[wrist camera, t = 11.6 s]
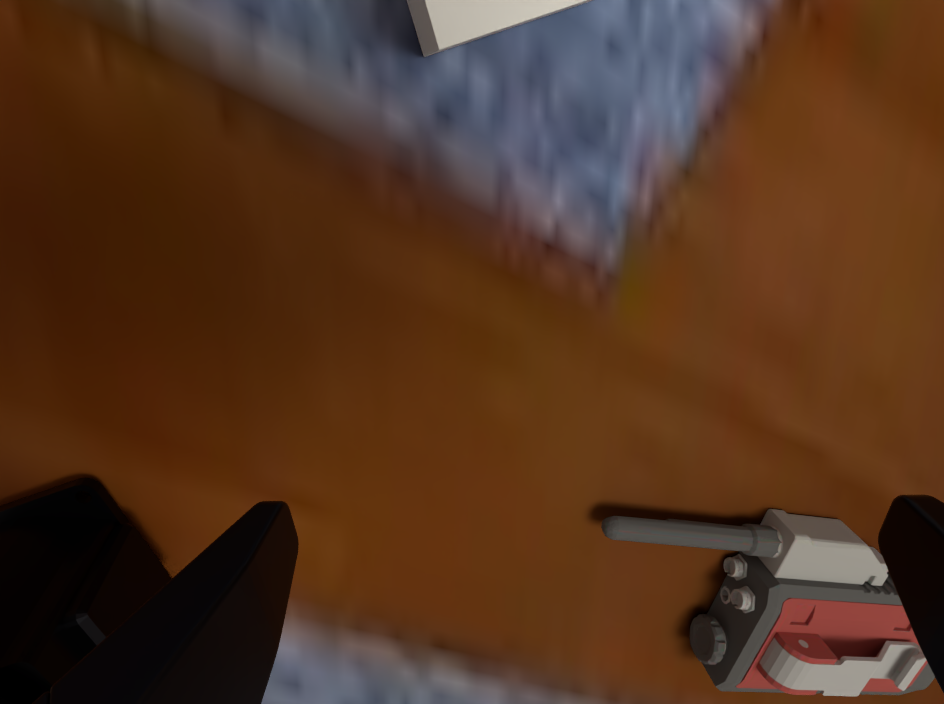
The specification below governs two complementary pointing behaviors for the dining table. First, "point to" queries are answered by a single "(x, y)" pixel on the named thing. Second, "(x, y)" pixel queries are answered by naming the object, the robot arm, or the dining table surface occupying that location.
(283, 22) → the dining table surface
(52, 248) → the dining table surface
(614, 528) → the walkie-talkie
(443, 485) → the dining table surface
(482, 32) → the walled box
